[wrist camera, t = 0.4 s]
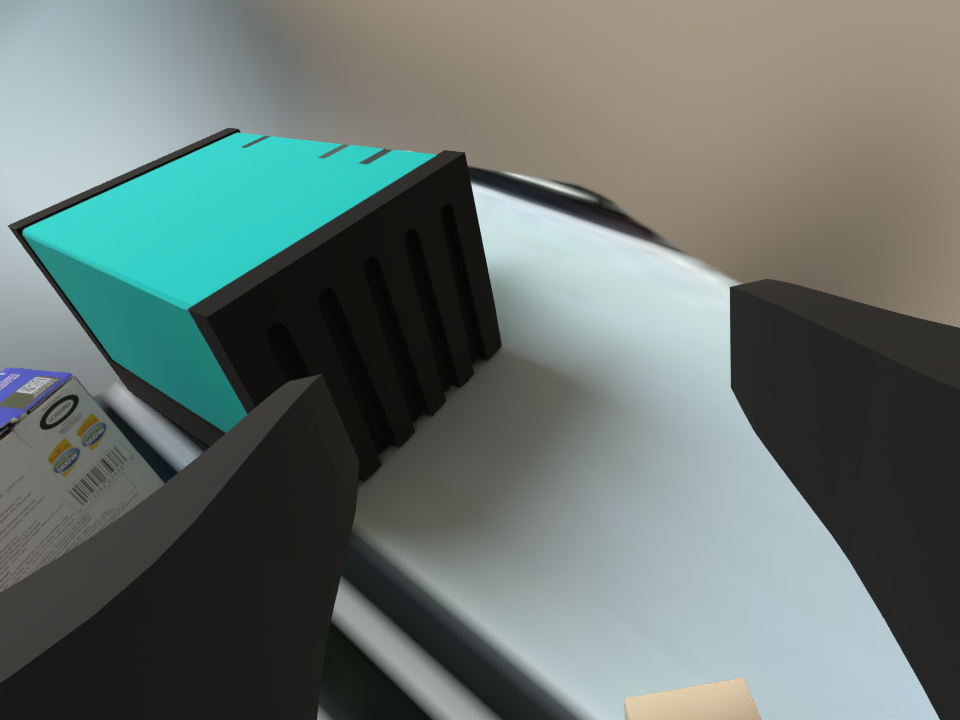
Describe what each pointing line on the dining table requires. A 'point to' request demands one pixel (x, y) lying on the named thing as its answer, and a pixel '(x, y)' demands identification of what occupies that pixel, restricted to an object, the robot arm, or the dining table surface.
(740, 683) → the birch block
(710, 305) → the dining table surface
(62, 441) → the ink cartridge box
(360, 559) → the dining table surface
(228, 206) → the electronic device
